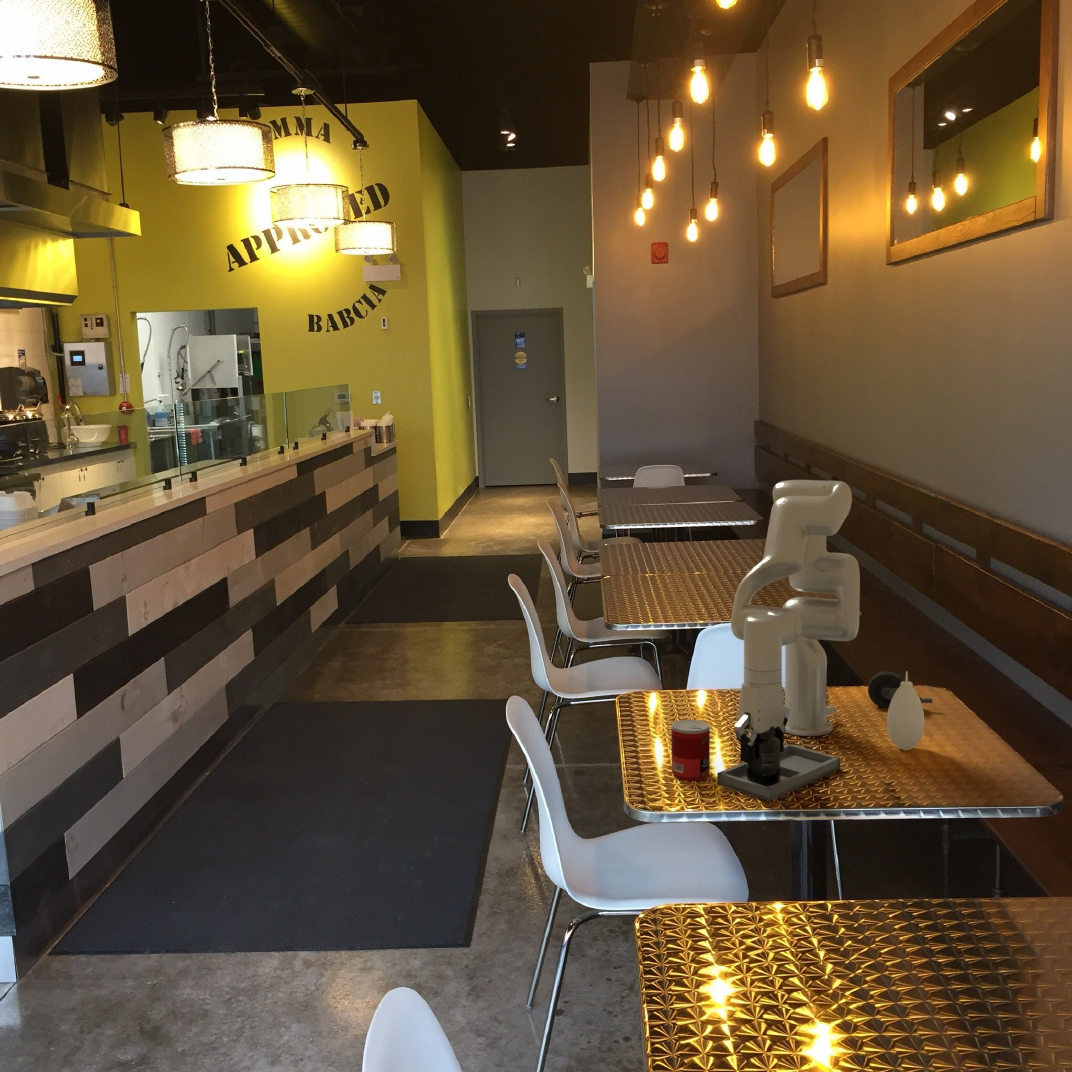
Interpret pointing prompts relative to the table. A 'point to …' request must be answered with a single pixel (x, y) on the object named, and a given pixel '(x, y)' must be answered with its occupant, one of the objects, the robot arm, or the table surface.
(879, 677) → the caster wheel
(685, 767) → the canned food
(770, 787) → the caddy
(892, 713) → the white air blower bulb
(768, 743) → the supplement bottle
